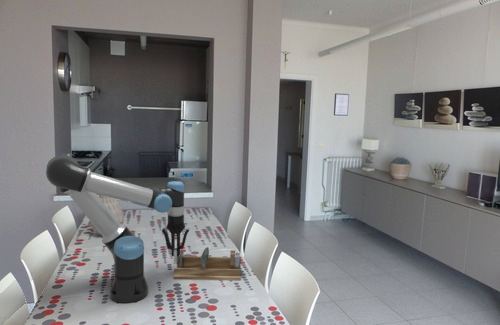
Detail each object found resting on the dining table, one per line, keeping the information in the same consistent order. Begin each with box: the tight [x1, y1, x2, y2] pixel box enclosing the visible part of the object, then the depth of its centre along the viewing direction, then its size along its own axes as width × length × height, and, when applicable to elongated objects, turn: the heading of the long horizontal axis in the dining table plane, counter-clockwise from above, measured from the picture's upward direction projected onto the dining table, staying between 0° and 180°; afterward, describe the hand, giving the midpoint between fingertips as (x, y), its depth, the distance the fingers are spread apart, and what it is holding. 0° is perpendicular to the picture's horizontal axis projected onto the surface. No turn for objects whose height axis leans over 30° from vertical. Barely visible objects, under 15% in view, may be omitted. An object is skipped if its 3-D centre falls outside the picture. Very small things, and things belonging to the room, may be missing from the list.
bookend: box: [179, 250, 185, 268], centre depth 179 cm, size 5×3×9 cm, turn 1°
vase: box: [89, 194, 125, 236], centre depth 236 cm, size 20×20×30 cm
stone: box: [199, 246, 210, 269], centre depth 179 cm, size 11×4×10 cm, turn 175°
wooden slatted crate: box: [173, 250, 242, 281], centre depth 180 cm, size 12×31×11 cm, turn 91°
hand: (175, 262), depth 179 cm, fingers closed
